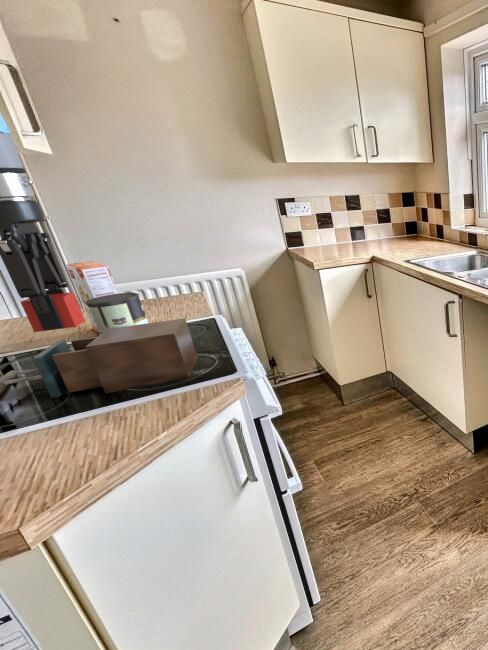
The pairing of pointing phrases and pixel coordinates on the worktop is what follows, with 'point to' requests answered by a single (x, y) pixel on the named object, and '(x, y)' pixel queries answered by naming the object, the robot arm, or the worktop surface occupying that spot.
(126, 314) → the coffee can
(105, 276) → the cracker box
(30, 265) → the robot arm
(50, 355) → the drawer
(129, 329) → the cabinet
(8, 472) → the worktop surface
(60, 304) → the box
